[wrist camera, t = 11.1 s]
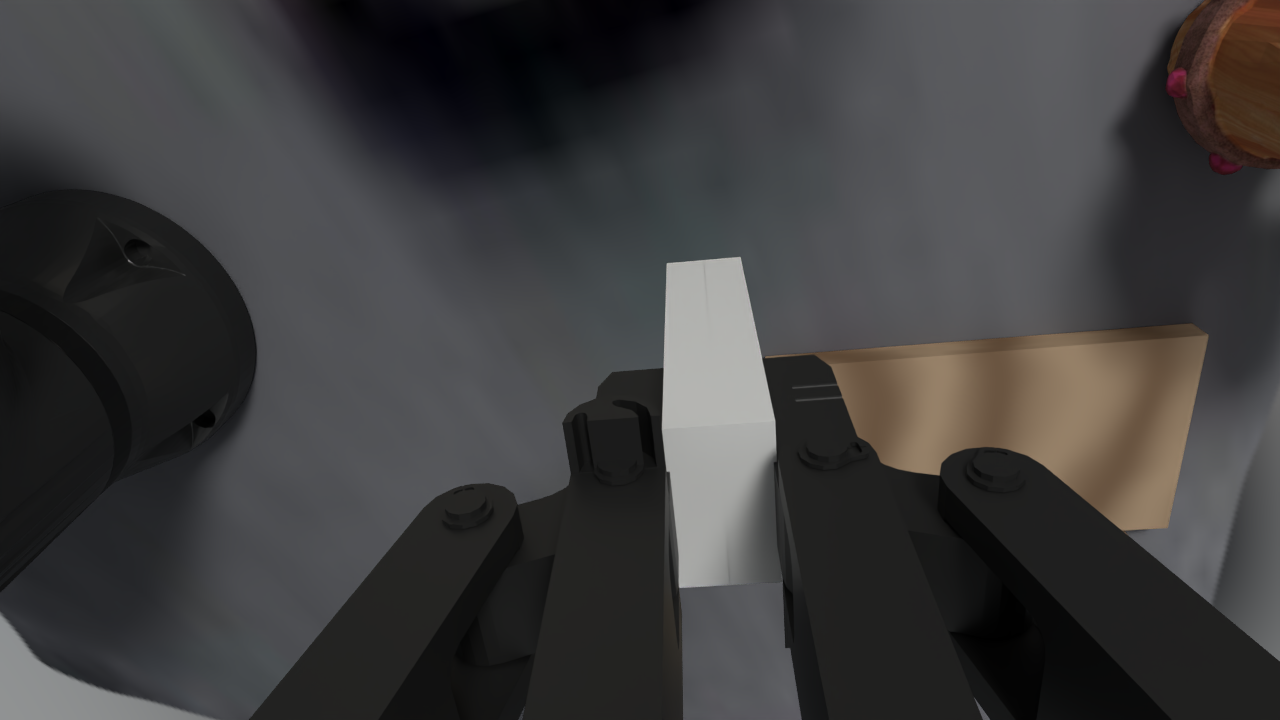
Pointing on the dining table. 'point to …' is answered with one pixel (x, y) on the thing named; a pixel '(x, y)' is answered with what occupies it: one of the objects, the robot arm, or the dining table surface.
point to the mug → (1230, 82)
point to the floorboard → (1039, 408)
